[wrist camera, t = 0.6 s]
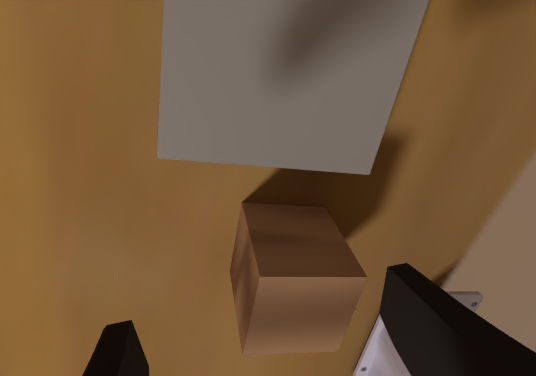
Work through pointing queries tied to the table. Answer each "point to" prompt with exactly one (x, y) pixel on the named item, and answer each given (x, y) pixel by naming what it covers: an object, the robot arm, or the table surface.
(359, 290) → the walnut block
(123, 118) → the table surface
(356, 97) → the grey box
